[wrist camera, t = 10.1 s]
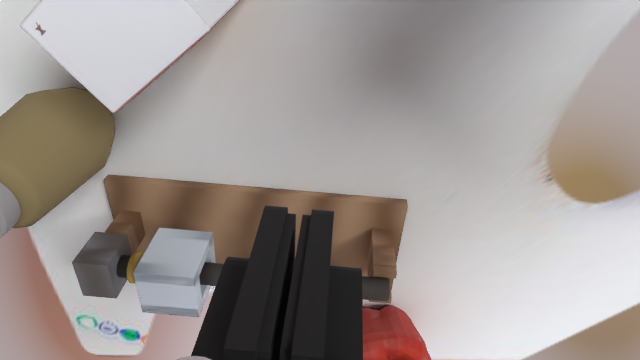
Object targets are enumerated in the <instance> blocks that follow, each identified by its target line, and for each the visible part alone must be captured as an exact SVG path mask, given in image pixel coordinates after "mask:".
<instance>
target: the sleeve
mask: <svg viewBox="0 0 640 360" xmlns="http://www.w3.org/2000/svg"><path fill="white" fill-rule="evenodd" d="M205 262H210V263H216V260H215V250H214V240H213V232H204V231H193V230H181V229H170V228H159V229H158V231H157V232H156V234H155V236H154V237H153V239H152V241H151V243H150V244H149V246H148V248H147V250H146V251H145V253H144V255H143V256H142V258H141V260H140V262H139V263H138V265H137V267H136V269H135V270H134V272H133V274H134V278H135V283H136V287H137V291H138V295H139V299H140V303H141V307H142V311H143V312H147V313H158V314H169V315H180V316H191V317H199V316H200V313H201V311H202V308H203V305H204V303H205V300H206V297H207V294H208V292H209V289H210V285H200V279H199V275H200V273H201V270H202V268H203V265H204V263H205Z"/></svg>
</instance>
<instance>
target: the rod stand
mask: <svg viewBox="0 0 640 360" xmlns="http://www.w3.org/2000/svg"><path fill="white" fill-rule="evenodd" d="M104 184H105V188H106V192H107V196H108V200H109V204H110V208H111V212H112V216H113V222H112V223H111V225H110V226H109V227H108V229H107V230H106V231H105V233H102V232H95V233H94V234H93V235H92V237H91V238H90V239H89V241H88V242H87V243H86V245H85V246H84V247H83V249H82V250H81V251H80V253H79V254H78V255H77V257H76V258H75V259H74V261H73V262H72V264H73V267H74V270H75V273H76V276H77V278H78V281H79V284H80V287H81V290H82V293H83V295H85V296H96V297H107V298H117V296H118V295H119V293H120V291H121V290H122V288H123V286H124V284H125V283H126V281H127V279H128V281H129V282H130V283H135V278H134V274H133V272H134V270H135V269H136V267H137V265H138V263H139V262H140V260H141V258H142V256H143V255H144V253H145V251H146V250H147V248H148V246H149V244H150V243H151V241H152V239H153V237H154V236H155V234H156V232H157V231H158V229H159V228H170V229H181V230H193V231H204V232H213V240H214V250H215V260H216V263H210V262H205V263H204V265H203V268H202V270H201V273H200V275H199V279H200V285H210V286H216V285H217V282H218V279H219V276H220V273H221V270H222V268H223V265H224V262H225V260H226V258H227V257H238V258H250V254H251V251H252V248H253V244H254V241H255V237H256V234H257V230H258V227H259V224H260V220H261V217H262V213H263V210H264V207H265V206H266V205H267V206H279V207H288V213H291V214H296V239H295V257H296V251H297V245H298V239H299V233H300V227H301V221H302V216H303V215H311V212H312V209H314V210H326V211H334V220H333V234H332V248H331V262H330V266H340V267H351V268H361V269H362V299H366V300H369V301H372V302H383V303H391V289H392V284H393V279H394V278H396V274H397V272H396V260H397V256H398V251H399V246H400V241H401V236H402V231H403V226H404V221H405V216H406V211H407V200H403V199H391V198H379V197H367V196H355V195H343V194H332V193H320V192H308V191H296V190H284V189H272V188H260V187H248V186H236V185H224V184H213V183H201V182H189V181H177V180H165V179H153V178H141V177H129V176H117V175H108V176H107V177H106V178H105V179H104Z"/></svg>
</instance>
